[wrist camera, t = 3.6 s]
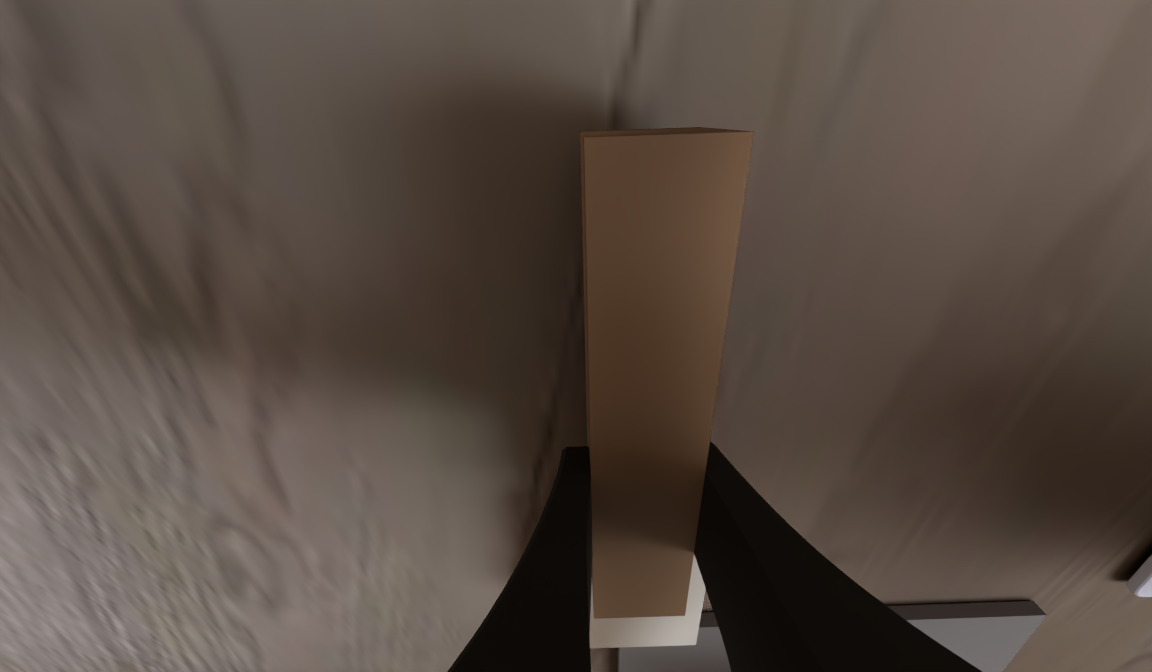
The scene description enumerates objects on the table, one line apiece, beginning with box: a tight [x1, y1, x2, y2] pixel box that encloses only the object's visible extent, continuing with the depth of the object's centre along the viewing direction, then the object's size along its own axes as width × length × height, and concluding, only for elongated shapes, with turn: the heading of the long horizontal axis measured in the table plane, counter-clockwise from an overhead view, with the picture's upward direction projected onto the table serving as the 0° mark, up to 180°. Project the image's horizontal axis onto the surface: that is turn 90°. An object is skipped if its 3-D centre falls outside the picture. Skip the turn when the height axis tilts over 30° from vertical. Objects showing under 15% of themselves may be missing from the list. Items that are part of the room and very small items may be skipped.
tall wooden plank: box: [580, 127, 754, 648], centre depth 12 cm, size 5×17×3 cm, turn 2°
